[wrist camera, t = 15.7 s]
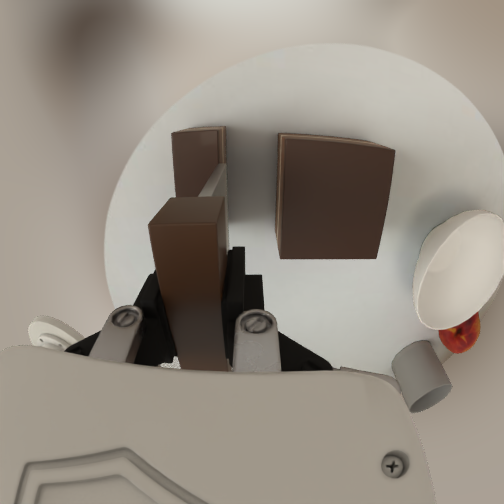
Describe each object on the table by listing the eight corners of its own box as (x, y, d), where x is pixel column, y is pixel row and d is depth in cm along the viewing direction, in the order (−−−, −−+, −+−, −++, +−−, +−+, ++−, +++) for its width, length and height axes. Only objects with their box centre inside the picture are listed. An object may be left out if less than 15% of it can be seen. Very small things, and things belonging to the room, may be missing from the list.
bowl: (369, 249, 29) (394, 284, 23) (459, 165, 24) (497, 183, 18) (417, 314, 35) (436, 346, 29) (488, 248, 29) (515, 272, 23)
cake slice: (195, 224, 28) (182, 252, 23) (189, 128, 23) (171, 132, 18) (228, 224, 28) (222, 252, 23) (225, 126, 23) (217, 129, 18)
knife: (213, 258, 22) (187, 388, 11) (207, 156, 18) (146, 224, 7) (238, 258, 22) (230, 391, 11) (236, 155, 18) (217, 222, 7)
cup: (438, 342, 39) (460, 382, 30) (412, 370, 42) (429, 410, 34) (410, 338, 37) (432, 385, 29) (383, 369, 41) (399, 414, 32)
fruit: (464, 285, 32) (490, 317, 25) (468, 311, 35) (490, 341, 28) (427, 314, 35) (449, 350, 28) (435, 337, 38) (454, 369, 31)
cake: (274, 230, 28) (280, 259, 23) (278, 133, 23) (285, 138, 18) (355, 231, 28) (376, 259, 23) (367, 140, 23) (395, 150, 18)
